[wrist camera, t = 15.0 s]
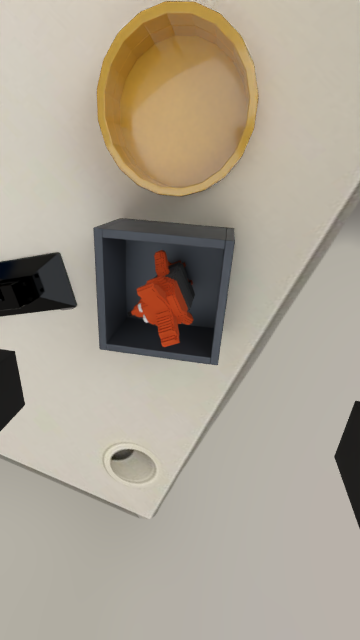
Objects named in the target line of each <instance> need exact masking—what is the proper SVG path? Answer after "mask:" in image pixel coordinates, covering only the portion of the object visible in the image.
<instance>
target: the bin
mask: <svg viewBox="0 0 360 640" xmlns="http://www.w3.org/2000/svg"><path fill="white" fill-rule="evenodd" d="M234 244H235V237H234V228H224V227H213V226H202V225H191V224H179V223H168V222H157V221H146V220H134V219H123V218H120V219H117V220H114V221H111V222H109V223H106V224H103V225H100V226H97V227H94V246H95V266H96V286H97V306H98V326H99V346H100V349H101V350H109V351H116V352H123V353H131V354H138V355H145V356H152V357H160V358H167V359H174V360H182V361H189V362H196V363H204V364H212V365H218V360H219V352H220V345H221V338H222V331H223V323H224V316H225V309H226V302H227V294H228V287H229V280H230V273H231V265H232V258H233V251H234ZM160 250H163V251H165V252H166V255H167V260H168V262H170V263H175V262H178V261H180V260H181V263H184V262H185V264H186V266H185V267H184V268H185V270H186V273H187V275H188V276H187V278H188V280H189V281H190V280H192V282H193V284H192V287H193V290H194V293H195V296H194V299H193V301H192V306H191V308H190V311H188V312H189V313H191V314H192V317H193V319H194V320H193V322H192V323H191V324H189V325H186V324H183V323H181V324H178V328H179V329H178V330H179V334H180V335H179V341H180V343H177V344H174V345H170V346H167V347H163V346H162V344H161V338H160V336H159V334H158V333H159V332H158V326H156V325H155V324H154V325H153V324H150V323H149V322H148V323H146V322H144V320H143V317H137V316H136V315H132V316H129V315H128V312H129V311H132V310H133V309H134V306H135V305H136V304H138V302H139V301H140V299H141V298H140V296H138V294H137V288H139V287H141V286H144V285H145V284H146V283H147V281H148V280H151V279H153V278H154V277H155V276H157V273H156V271H155V270H156V269H155V267H156V266H155V257H154V255H155V253H156V252H158V251H160Z"/></svg>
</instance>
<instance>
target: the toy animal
mask: <svg viewBox="0 0 360 640" xmlns="http://www.w3.org/2000/svg"><path fill="white" fill-rule="evenodd" d="M154 257H155V266H156V267H155V269H156V270H155V271H156V273H157V276H155V277H154V278H153V279H151V280H148V281H147V283H146V284H145V285H144V286H141V287H139V288H137V294H138V296H140V298H141V299H140V301H139V302H138V304H136V305H135V306H134V309H133V310H132V311H129V312H128V315H129V316H132V315H136V316H137V317H143V320H144V322H146V323H148V322H149V323H150V324H153V325H154V324H155V325H156V326H158V332H159V333H158V334H159V336H160V338H161V344H162V346H163V347H167V346H170V345H174V344H177V343H180V341H179V335H180V334H179V330H178V329H179V328H178V324H181V323H183V324H186V325H189V324H191V323H192V322H193V320H194V319H193V317H192V314H191V313H189V312H188V311H190V308H191V306H192V301H193V299H194V296H195V293H194V290H193V287H192V284H193V282H192V280H190V281H189V280H188V278H187V276H188V275H187V273H186V270H185V268H184V267H185V266H186V264H185V262H184V263H181V260H180V261H178V262H175V263H170V262H168V260H167V255H166V252H165V251H163V250H160V251H158V252H156V253H155V255H154Z"/></svg>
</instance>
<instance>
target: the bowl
mask: <svg viewBox="0 0 360 640" xmlns="http://www.w3.org/2000/svg"><path fill="white" fill-rule="evenodd" d="M257 104H258V89H257V82H256V74H255V66H254V63H253V61H252V59H251V57H250V54H249V52H248V50H247V48H246V45H245V43H244V41H243V39H242V37H241V35H240V34H239V33H238V32H237V31H236V30H235V29H234V28H233V27H232V26H231V25H230V23H229V22H228V21H227V20H226V19H225V18H224V17H223V16H222V15H221V14H220V13H218V12H216V11H214V10H211V9H209V8H207V7H205V6H203V5H201V4H198V3H196V2H183V1H166V2H163V3H160V4H158V5H156V6H153V7H151V8H148V9H146V10H144V11H141V12H140V13H138V14H137V15H136V16H135V17H134V18H133V19H132V20H131V21H130V22H129V23H128V24H127V25H126V26H125V27H124V28H123V29H122V30H121V31H120V32H119V33H118V34H117V35H116V37H115V39H114V41H113V43H112V45H111V47H110V49H109V50H108V52H107V54H106V56H105V58H104V61H103V64H102V68H101V73H100V77H99V82H98V86H97V108H98V122H99V125H100V128H101V132H102V135H103V138H104V142H105V145H106V146H107V149H108V151H109V152H110V154H111V156H112V157H113V159H114V160H115V162H116V164H117V165H118V167H119V168H120V170H121V171H123V172H124V173H125V174H126V175H127V176H128V177H129V178H130V179H131V180H133V181H134V182H135V183H136V184H137V185H138V186H141V187H143V188H145V189H147V190H150V191H152V192H154V193H156V194H160V195H170V196H185V195H189V194H193V193H197V192H200V191H204V190H206V189H208V188H210V187H211V186H213V185H214V184H216V183H217V182H219V181H220V180H222V179H223V178H225V176H227V175H228V174H229V172H230V171H231V170H232V169H233V168H234V166H235V165H236V164H237V163H238V161H239V160H240V159H241V157H242V155H243V153H244V151H245V148H246V146H247V144H248V141H249V139H250V137H251V134H252V132H253V130H254V125H255V118H256V111H257Z"/></svg>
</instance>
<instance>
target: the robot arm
mask: <svg viewBox="0 0 360 640" xmlns="http://www.w3.org/2000/svg"><path fill="white" fill-rule="evenodd" d="M24 405H25V402H24V397H23V392H22V387H21V381H20V376H19V371H18V366H17V361H16V355H15V351H9V350H2V349H0V431H1V430H2V429H3V428H4V427H5V426H6V425H7V424H8V423H9V422H10V420H11V419H12V418H13V417H14V416H15V415H16V414H17V413H18V412H19V411H20V410H21V409H22V408H23V406H24ZM335 460H336V462H337V465H338V468H339V471H340V474H341V477H342V480H343V483H344V485H345V488H346V491H347V494H348V497H349V499H350V502H351V505H352V508H353V511H354V514H355V517H356V519H357V522H358V525H359V528H360V402H359V401H355V403H354V406H353V408H352V411H351V414H350V417H349V419H348V422H347V424H346V427H345V430H344V433H343V435H342V438H341V440H340V443H339V446H338V448H337V451H336V454H335Z"/></svg>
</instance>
